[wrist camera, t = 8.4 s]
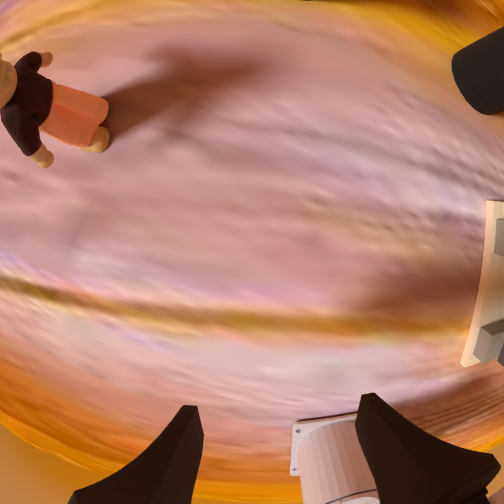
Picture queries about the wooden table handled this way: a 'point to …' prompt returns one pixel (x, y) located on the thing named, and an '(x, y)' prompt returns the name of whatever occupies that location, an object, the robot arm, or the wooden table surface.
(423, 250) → the wooden table surface
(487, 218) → the stand
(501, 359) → the handle bar
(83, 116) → the grandmother figurine
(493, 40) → the wine bottle
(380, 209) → the wooden table surface
